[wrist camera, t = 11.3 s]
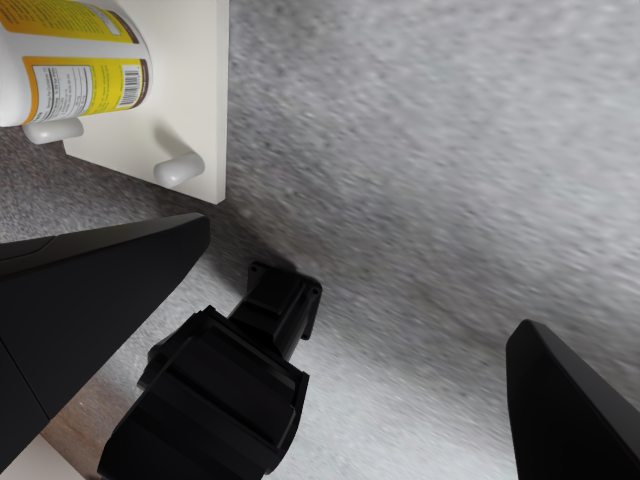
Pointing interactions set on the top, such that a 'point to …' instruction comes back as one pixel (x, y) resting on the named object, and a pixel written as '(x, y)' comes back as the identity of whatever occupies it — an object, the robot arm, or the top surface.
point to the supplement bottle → (68, 61)
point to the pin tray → (164, 102)
